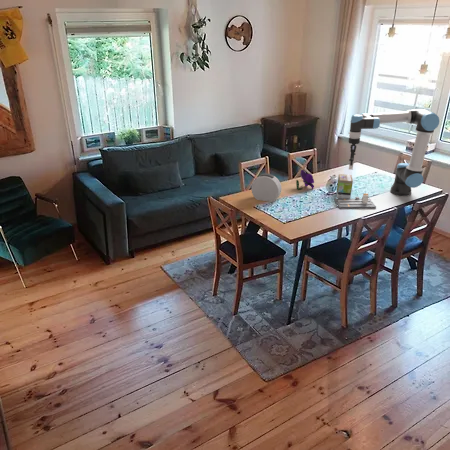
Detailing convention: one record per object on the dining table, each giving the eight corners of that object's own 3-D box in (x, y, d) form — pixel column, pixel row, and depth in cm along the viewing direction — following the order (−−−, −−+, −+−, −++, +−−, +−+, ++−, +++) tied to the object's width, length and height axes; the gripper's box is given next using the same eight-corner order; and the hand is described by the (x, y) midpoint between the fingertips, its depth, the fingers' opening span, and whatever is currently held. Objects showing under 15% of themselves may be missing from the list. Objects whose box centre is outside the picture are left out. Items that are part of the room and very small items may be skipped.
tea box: (350, 199, 317) (353, 181, 310) (336, 198, 319) (339, 180, 312) (349, 192, 330) (351, 174, 324) (336, 191, 332) (338, 173, 325)
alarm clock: (281, 199, 318) (282, 174, 309) (277, 203, 312) (279, 177, 303) (254, 195, 326) (255, 170, 317) (251, 198, 320) (251, 173, 311)
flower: (306, 198, 332) (318, 188, 336) (301, 184, 323) (313, 173, 326) (294, 193, 343) (305, 182, 346) (288, 179, 334) (300, 169, 337)
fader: (366, 201, 309) (367, 192, 306) (367, 203, 306) (368, 194, 303) (361, 201, 309) (363, 192, 306) (363, 203, 306) (364, 194, 303)
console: (369, 200, 315) (370, 196, 313) (375, 208, 301) (376, 204, 300) (334, 200, 315) (335, 196, 314) (339, 208, 301) (339, 204, 300)
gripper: (349, 132, 307) (346, 161, 316) (348, 141, 286) (344, 171, 295) (360, 133, 305) (356, 161, 314) (359, 142, 284) (355, 172, 293)
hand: (351, 166), depth 305 cm, fingers open, 13 cm apart
